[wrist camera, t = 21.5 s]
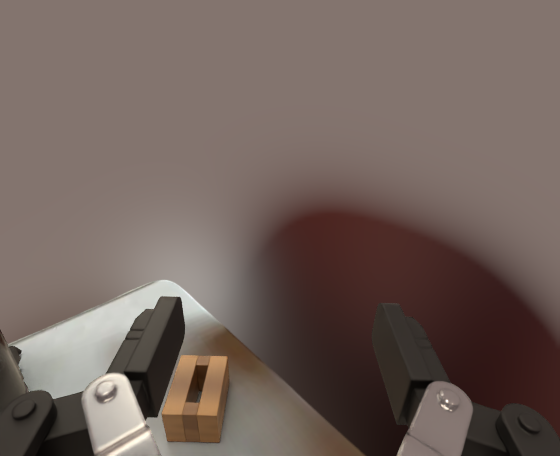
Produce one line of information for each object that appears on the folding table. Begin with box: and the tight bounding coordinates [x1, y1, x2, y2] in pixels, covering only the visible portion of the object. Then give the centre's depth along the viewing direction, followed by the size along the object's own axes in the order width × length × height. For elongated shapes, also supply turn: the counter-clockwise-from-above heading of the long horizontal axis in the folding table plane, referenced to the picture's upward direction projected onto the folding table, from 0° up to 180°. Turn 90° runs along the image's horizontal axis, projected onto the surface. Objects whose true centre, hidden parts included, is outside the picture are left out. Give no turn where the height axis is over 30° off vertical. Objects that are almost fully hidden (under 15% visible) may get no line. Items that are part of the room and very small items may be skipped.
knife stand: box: [162, 355, 229, 443], centre depth 41 cm, size 8×6×5 cm
